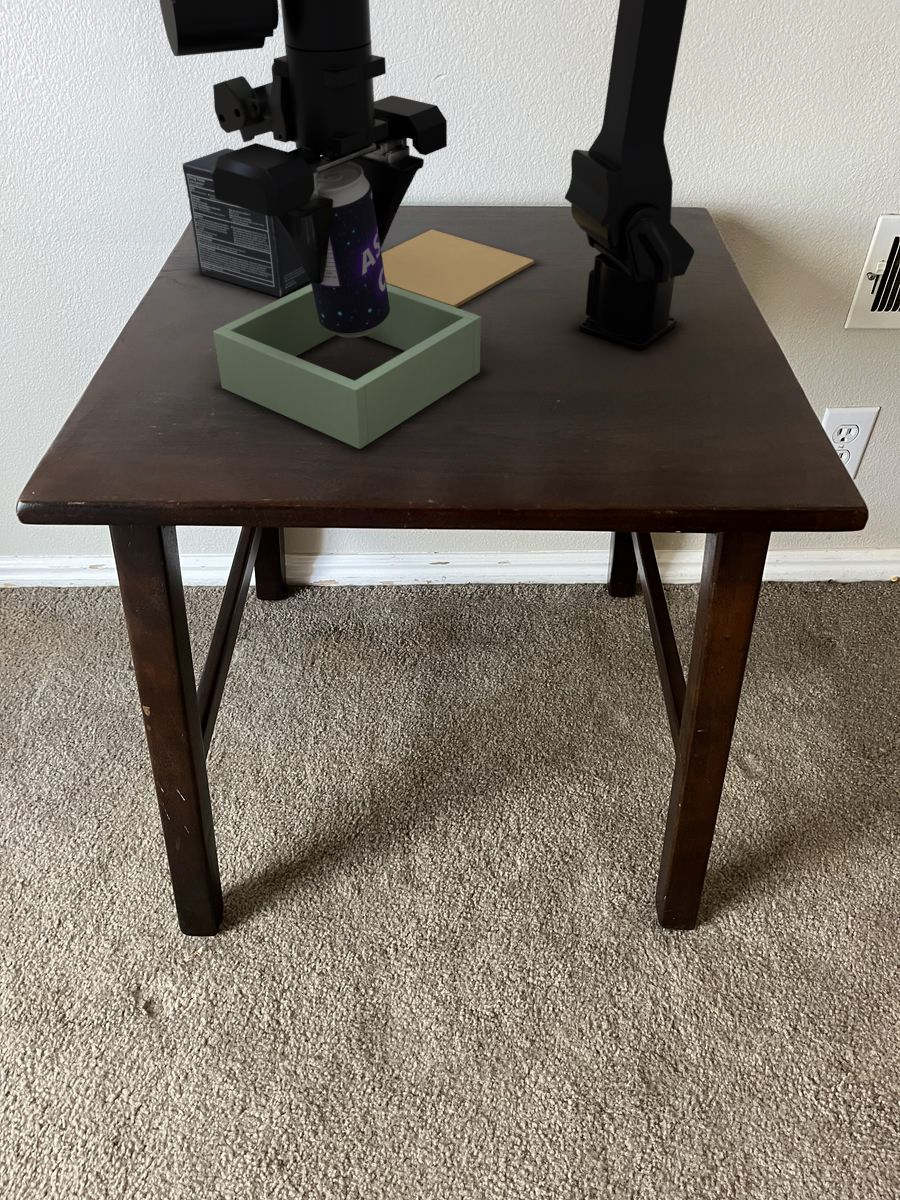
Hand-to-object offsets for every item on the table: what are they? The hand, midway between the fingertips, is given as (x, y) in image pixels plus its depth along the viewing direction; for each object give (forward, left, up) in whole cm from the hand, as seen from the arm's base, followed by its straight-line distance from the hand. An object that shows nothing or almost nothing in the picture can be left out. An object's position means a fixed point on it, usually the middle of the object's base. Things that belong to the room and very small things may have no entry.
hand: (344, 268), depth 79 cm
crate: (0, 0, -10) cm, 10 cm away
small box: (+21, -10, -10) cm, 25 cm away
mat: (+8, -22, -10) cm, 25 cm away
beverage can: (0, -1, -5) cm, 5 cm away
